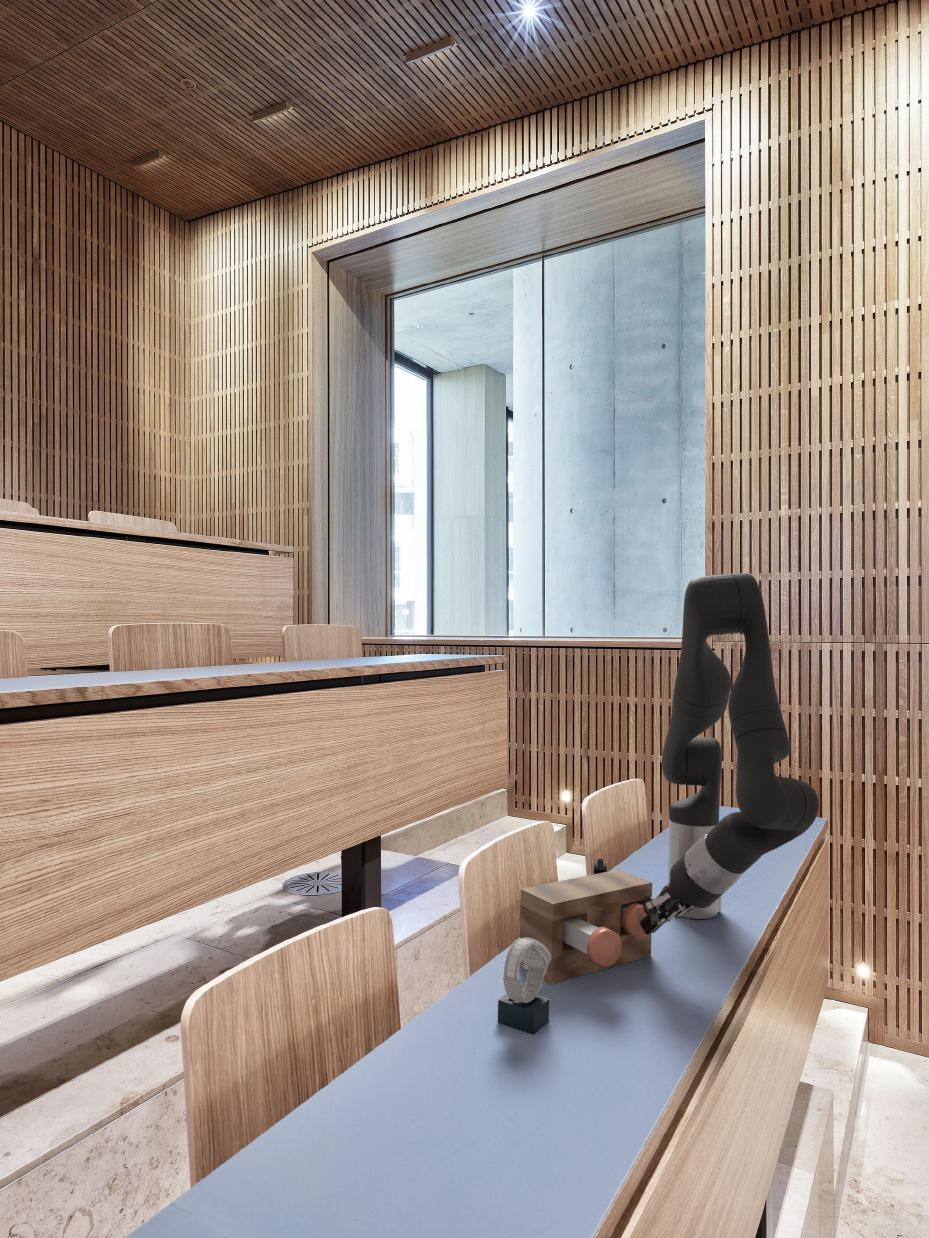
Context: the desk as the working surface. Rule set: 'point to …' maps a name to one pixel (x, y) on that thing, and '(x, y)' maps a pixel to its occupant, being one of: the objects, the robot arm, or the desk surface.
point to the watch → (525, 987)
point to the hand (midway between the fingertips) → (646, 928)
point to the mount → (582, 918)
